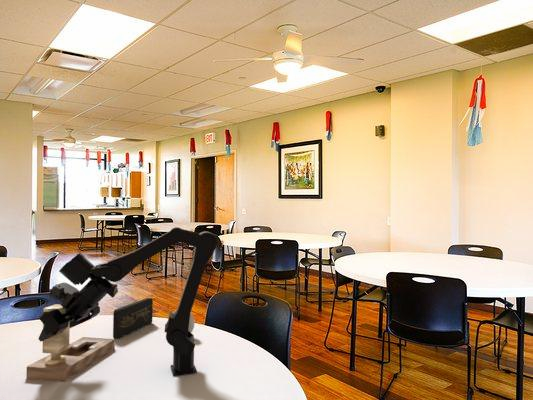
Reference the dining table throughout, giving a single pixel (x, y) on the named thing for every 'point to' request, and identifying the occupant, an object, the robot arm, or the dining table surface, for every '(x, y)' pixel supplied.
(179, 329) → the robot arm
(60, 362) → the peg
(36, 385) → the dining table surface
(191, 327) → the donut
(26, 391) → the dining table surface
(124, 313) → the nameplate
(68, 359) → the keyhole board
